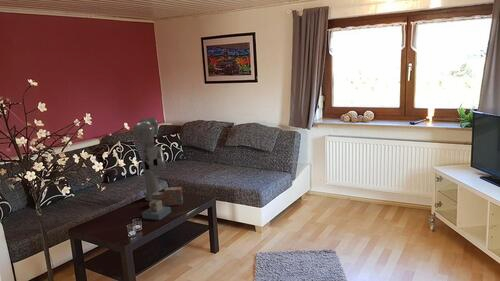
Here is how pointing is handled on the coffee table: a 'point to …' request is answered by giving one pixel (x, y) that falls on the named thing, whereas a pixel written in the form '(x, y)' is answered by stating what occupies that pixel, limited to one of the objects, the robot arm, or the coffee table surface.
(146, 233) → the coffee table surface
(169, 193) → the stack of blocks
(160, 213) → the slate base plinth
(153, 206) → the cream block
